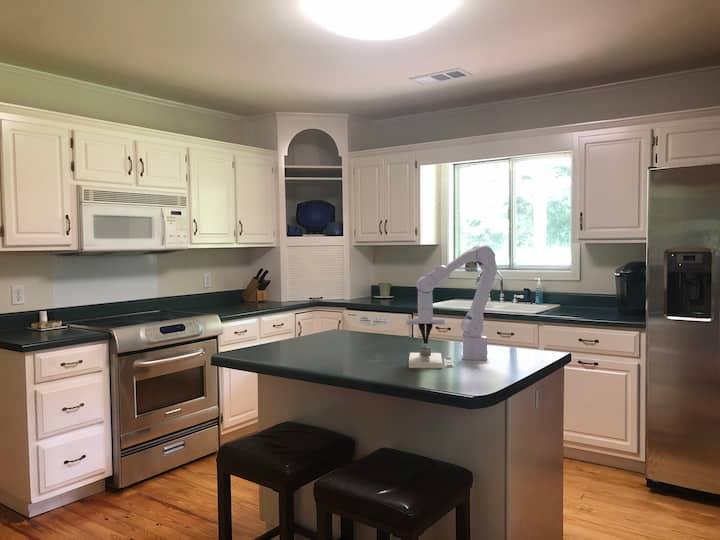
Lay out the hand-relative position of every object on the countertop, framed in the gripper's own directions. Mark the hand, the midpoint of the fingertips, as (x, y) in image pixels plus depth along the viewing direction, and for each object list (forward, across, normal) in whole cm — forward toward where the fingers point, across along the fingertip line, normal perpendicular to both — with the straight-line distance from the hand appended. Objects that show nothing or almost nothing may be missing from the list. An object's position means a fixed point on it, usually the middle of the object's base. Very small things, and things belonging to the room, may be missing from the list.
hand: (425, 343), depth 225 cm
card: (+6, -9, +6) cm, 12 cm away
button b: (+5, 0, +6) cm, 8 cm away
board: (+6, 0, +6) cm, 9 cm away
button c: (+5, 0, +12) cm, 13 cm away
